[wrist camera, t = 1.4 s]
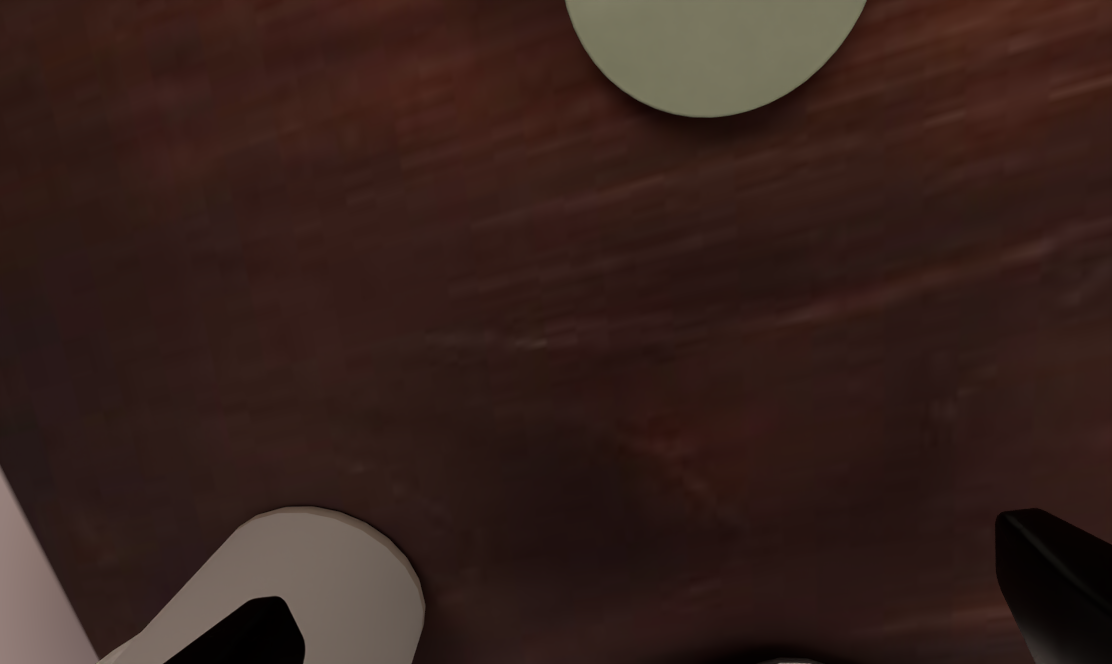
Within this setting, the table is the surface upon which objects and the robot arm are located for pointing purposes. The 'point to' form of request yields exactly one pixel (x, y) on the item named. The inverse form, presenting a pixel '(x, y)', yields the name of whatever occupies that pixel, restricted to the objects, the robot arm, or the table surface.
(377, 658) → the mug
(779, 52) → the green cylinder
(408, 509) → the table surface
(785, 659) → the plate
